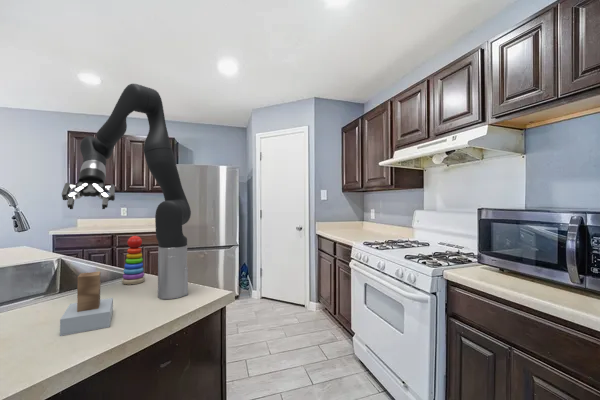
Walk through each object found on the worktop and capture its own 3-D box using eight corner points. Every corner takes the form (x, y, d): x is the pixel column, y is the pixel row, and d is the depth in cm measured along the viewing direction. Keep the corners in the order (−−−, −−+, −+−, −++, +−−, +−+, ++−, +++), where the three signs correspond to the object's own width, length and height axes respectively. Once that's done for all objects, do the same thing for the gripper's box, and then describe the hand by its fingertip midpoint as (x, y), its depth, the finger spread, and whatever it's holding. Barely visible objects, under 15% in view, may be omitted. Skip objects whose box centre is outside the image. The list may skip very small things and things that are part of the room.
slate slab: (112, 311, 83) (113, 297, 83) (109, 326, 73) (109, 311, 73) (70, 317, 78) (70, 303, 78) (59, 335, 68) (60, 319, 68)
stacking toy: (119, 286, 107) (120, 237, 107) (123, 280, 115) (124, 235, 115) (143, 284, 110) (143, 236, 111) (145, 278, 118) (146, 234, 118)
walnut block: (100, 303, 79) (100, 271, 79) (98, 308, 75) (98, 275, 75) (79, 306, 76) (80, 273, 76) (77, 311, 73) (77, 277, 73)
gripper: (66, 165, 95) (57, 199, 85) (115, 168, 102) (113, 199, 93) (69, 182, 100) (61, 215, 90) (116, 183, 107) (114, 214, 97)
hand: (87, 207), depth 91 cm, fingers open, 8 cm apart
